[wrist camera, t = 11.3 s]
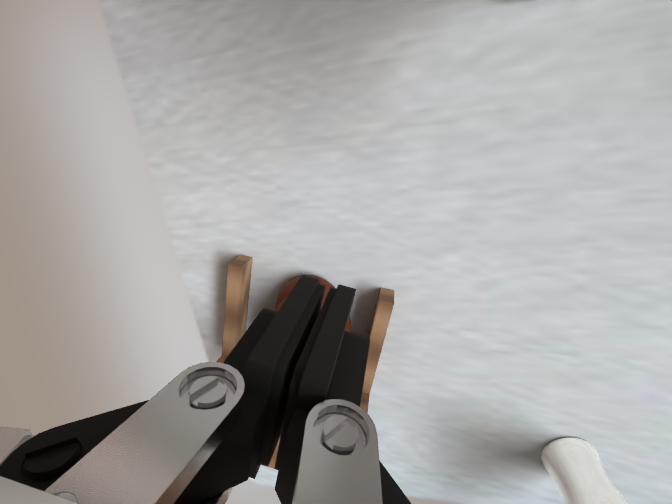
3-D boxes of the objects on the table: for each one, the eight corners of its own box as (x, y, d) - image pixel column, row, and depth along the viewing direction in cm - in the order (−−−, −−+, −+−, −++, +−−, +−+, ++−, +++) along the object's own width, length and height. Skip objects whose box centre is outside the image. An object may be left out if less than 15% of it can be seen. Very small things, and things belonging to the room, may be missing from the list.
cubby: (240, 254, 39) (166, 312, 27) (394, 290, 38) (392, 370, 25) (232, 350, 44) (166, 436, 32) (368, 386, 43) (356, 492, 30)
